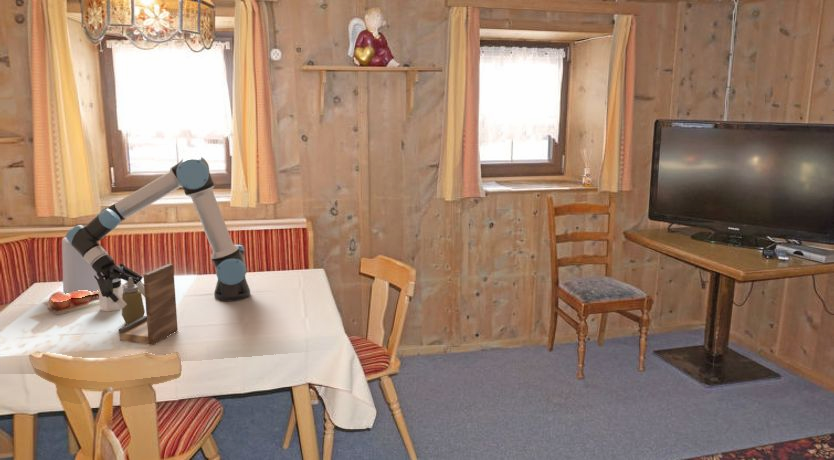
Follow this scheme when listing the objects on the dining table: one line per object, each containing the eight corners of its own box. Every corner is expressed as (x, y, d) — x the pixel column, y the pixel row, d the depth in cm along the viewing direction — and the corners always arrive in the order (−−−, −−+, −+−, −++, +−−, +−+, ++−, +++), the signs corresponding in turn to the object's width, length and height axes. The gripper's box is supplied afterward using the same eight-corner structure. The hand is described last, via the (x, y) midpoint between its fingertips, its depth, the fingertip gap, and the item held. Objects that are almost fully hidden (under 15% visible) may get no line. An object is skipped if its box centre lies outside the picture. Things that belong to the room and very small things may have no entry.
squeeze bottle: (127, 318, 242) (123, 274, 238) (148, 318, 242) (145, 274, 238) (119, 326, 234) (115, 280, 230) (141, 325, 234) (137, 280, 230)
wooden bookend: (177, 331, 230) (173, 264, 224) (153, 345, 217) (148, 274, 211) (145, 327, 233) (139, 261, 228) (119, 340, 220) (113, 271, 214)
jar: (101, 312, 247) (98, 284, 244) (99, 306, 254) (96, 279, 251) (125, 309, 252) (123, 281, 249) (122, 303, 259) (120, 276, 256)
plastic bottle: (98, 285, 281) (93, 225, 275) (108, 293, 270) (102, 231, 264) (61, 291, 272) (54, 230, 266) (69, 300, 261) (63, 236, 255)
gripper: (117, 258, 249) (152, 296, 249) (69, 275, 225) (108, 317, 225) (127, 246, 246) (162, 285, 246) (80, 262, 223) (119, 305, 223)
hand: (136, 301), depth 236 cm, fingers open, 13 cm apart
